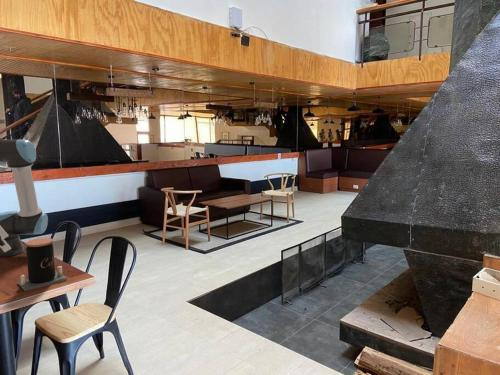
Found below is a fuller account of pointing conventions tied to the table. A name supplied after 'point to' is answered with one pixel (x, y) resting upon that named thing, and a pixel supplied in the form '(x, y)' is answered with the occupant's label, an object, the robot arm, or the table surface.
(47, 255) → the coffee jar
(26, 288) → the peg board
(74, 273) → the table surface
